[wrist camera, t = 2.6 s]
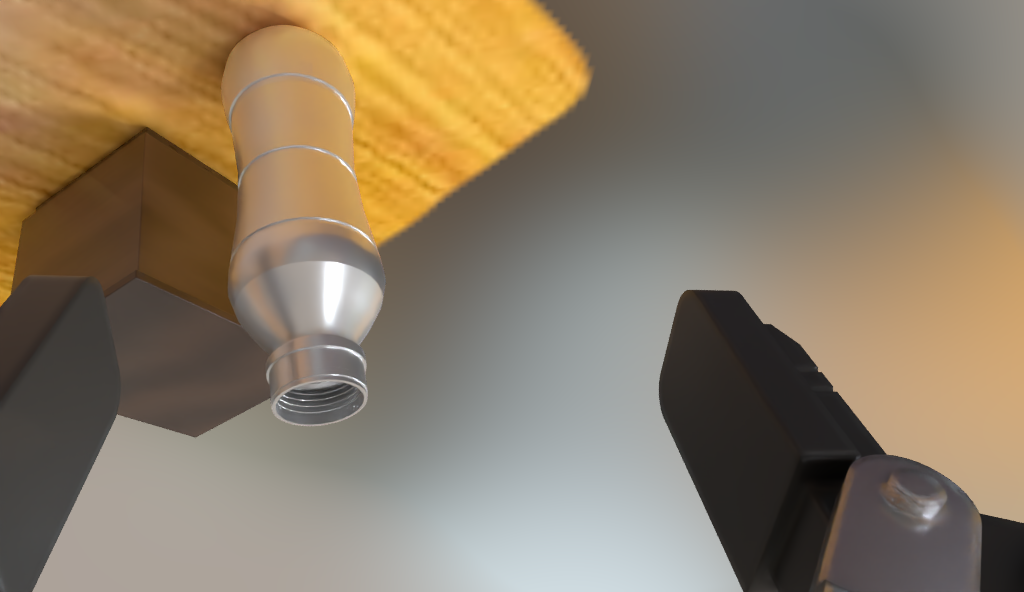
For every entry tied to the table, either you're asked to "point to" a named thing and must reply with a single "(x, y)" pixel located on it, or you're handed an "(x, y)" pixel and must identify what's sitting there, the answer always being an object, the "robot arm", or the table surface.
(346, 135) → the silver metal bottle
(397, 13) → the table surface
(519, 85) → the table surface
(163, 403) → the cabinet
